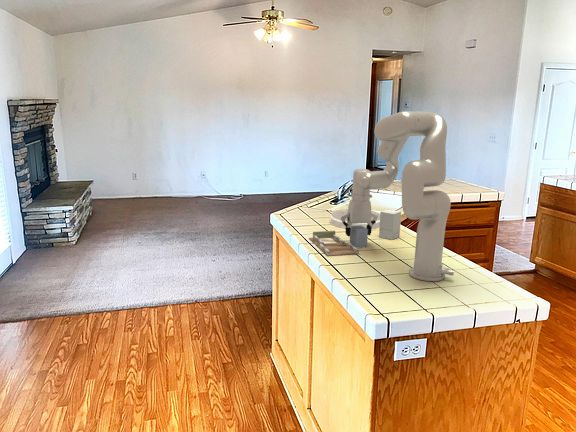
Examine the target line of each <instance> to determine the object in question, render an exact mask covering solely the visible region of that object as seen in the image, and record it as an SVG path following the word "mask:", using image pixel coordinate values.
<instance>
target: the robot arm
mask: <svg viewBox="0 0 576 432" xmlns="http://www.w3.org/2000/svg"><path fill="white" fill-rule="evenodd" d="M373 132H374V136H375V138H376V140H378V141H380V143H379V145H378V147H377V150H376V152H377V155H378V156H379V157H380V158H381V159H382V160H384V162H385V161H386V162H387V163H386V166H385V167H384V169H383V170H373V171H371V170H369V169H366V168H357V169H354V171H353V173H352V174H353V175H352V178H353V179H352V192H351V193H352V194H351V199H350V200H349V203H348V207H347V209H348V212H347V214H346V215H344V216H342V217H341V221H342V223H343V224H344V225H345V226H346V229H345V235H346V236H347V237H348V238H350V231H351V228H350V226H351V225H352V224H355V223H367V224H368V225H367V228H366V229H368V236H371V235H372V234H371V233H372V230H373V229H372V226H373V225H374V224H375V222H376V220H377V218H378V216H376V215H374V214H372V213H371V211H372V202H371V200H370V199H371V198H373V194H371V193H370V191H371V190H380V189H382V190H384V189H388V188H389V187H391V185H392V184H393V183H394V182H395V180H396V177H398V174H399V170H400V169H399V167H400V164H399V159H398V157H399V155H400V154H401V152H402V150H403V148H404V147H405V144H407V141H408V139H409V137H418V136H419V137H421V136H423V137H424V138H423V140H422V141H421V145H420V148H419V154H420V155H419V157H420V158H419V159H415V160H410V161H409V162H407V163H406V164H405V165H404V167H403V169H402V171H401V182H400V183H401V207H402V211H403V214H404V216H405V217H406V218H408V219H409V220H419V222H418V224H417V228H416V239H415V250H414V259H413V260H414V262H413V267H411V268H410V269H409V270H408V275H409V276H410V277H412V278H414V279H417V280H419V281H425V282H439V281H442V280H444V279H445V277H446V275H448V276H452V277H453V276H454V273H455V270H453V269H452V268H450V267H445V266H443V264H444V263H443V262H442V261H443V253H444V252H443V251H444V245H445V242H444V241H445V235H446V234H445V233H446V225H447V221H448V217H449V213H450V210H451V207H452V206H451V205H452V202H451V198H450V196H449V194H447V193H446V192H445V191H443V190H439V189H437V190H435V189H432V190H424V188H431V187H437V186H441V185H442V184H443V183H445V182H446V181H445V180H446V176H447V173H446V172H447V169H446V168H447V163H446V162H447V159H446V155H447V153H446V144H447V134H448V125H447V122H446V119H445V118H444V117H443V116H442V115H441V114H439V113H436V112H434V111H433V112H432V111H421V110H420V111H412V110H411V111H399V112H396V113H393V114H391V115H390V114H389V115H388V116H385V117H382V118H380V119H379V120H378V122H377V123H376V124H375V126H374V131H373ZM371 216H372V217H373V220H372V221H371ZM345 219H347V223H346V222H345ZM370 221H371V222H370Z"/></svg>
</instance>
